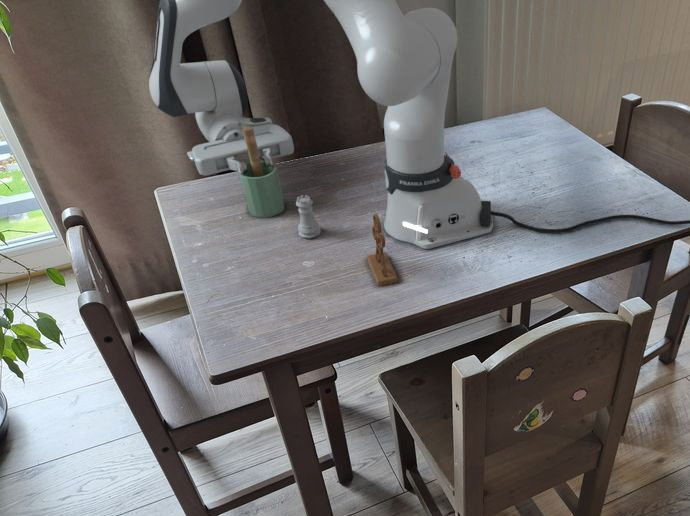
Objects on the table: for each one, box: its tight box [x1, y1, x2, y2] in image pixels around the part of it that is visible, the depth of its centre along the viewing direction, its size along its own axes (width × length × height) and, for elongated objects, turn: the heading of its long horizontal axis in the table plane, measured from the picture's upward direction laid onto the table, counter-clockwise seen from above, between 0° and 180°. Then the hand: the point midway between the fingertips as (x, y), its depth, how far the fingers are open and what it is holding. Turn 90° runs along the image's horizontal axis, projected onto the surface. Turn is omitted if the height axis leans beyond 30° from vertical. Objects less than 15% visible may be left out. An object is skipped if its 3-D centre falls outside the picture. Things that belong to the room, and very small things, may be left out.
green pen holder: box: [238, 161, 286, 218], centre depth 132 cm, size 7×7×9 cm
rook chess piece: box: [295, 194, 322, 240], centre depth 125 cm, size 4×4×8 cm
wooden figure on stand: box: [366, 213, 399, 287], centre depth 115 cm, size 9×4×12 cm, turn 20°
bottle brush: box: [243, 126, 264, 177], centre depth 129 cm, size 4×4×17 cm
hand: (256, 166), depth 127 cm, fingers open, 4 cm apart
